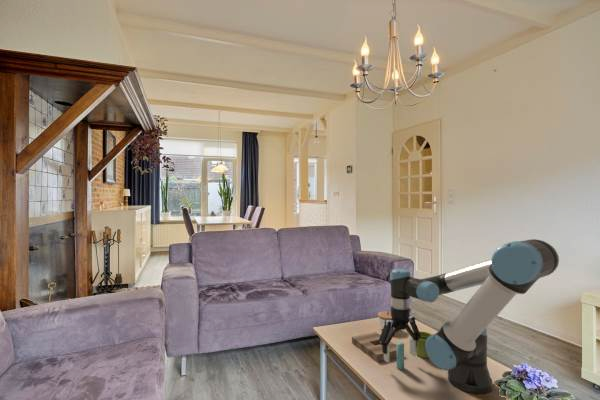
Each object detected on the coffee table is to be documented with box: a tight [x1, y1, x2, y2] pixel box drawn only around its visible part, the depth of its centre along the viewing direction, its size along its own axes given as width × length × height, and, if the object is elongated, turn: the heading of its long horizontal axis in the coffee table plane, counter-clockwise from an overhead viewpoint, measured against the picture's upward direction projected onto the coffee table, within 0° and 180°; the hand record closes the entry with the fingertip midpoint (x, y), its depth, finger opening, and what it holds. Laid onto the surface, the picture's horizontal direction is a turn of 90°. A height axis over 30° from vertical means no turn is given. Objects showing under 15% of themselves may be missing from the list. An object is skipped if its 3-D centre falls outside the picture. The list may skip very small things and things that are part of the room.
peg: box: [396, 342, 405, 371], centre depth 135 cm, size 3×3×10 cm
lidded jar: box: [377, 310, 395, 330], centre depth 176 cm, size 11×11×9 cm
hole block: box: [351, 331, 397, 363], centre depth 152 cm, size 20×14×3 cm
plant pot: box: [416, 330, 433, 359], centre depth 147 cm, size 9×9×9 cm
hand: (399, 357), depth 136 cm, fingers open, 13 cm apart
